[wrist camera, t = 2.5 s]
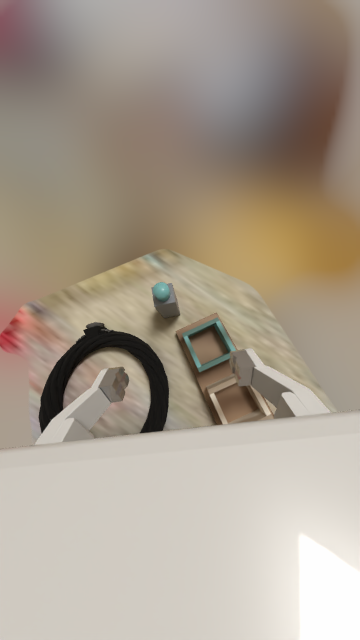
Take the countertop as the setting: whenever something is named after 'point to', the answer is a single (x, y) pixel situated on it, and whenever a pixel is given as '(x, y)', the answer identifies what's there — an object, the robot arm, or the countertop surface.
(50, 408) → the cable lock
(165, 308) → the knob
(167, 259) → the countertop surface
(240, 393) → the brown divided tray
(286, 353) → the countertop surface
